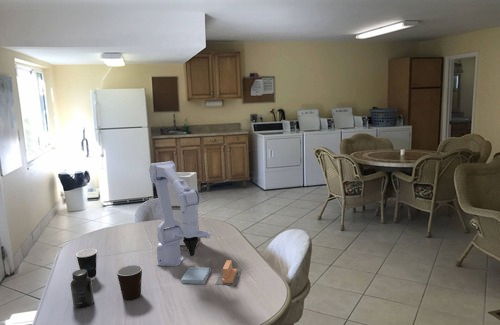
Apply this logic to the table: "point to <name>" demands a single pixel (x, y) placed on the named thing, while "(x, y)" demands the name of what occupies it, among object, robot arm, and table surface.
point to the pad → (219, 282)
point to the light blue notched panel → (196, 275)
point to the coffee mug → (130, 281)
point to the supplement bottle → (81, 289)
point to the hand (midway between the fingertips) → (192, 255)
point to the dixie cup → (87, 261)
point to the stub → (228, 272)
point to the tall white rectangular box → (177, 213)
